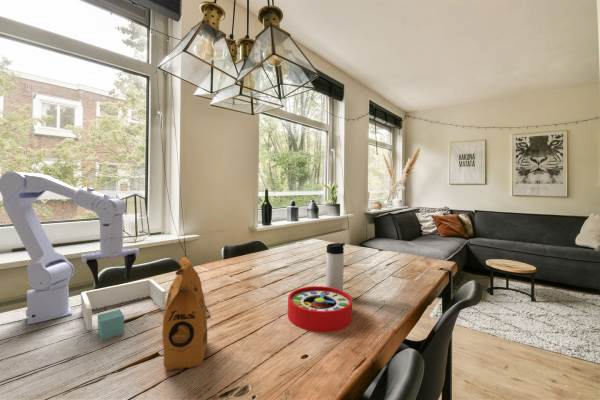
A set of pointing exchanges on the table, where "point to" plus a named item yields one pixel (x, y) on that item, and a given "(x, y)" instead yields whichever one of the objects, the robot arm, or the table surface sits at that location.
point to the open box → (120, 296)
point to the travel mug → (335, 265)
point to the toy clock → (320, 309)
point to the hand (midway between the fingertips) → (112, 281)
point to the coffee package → (184, 320)
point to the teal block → (110, 324)
